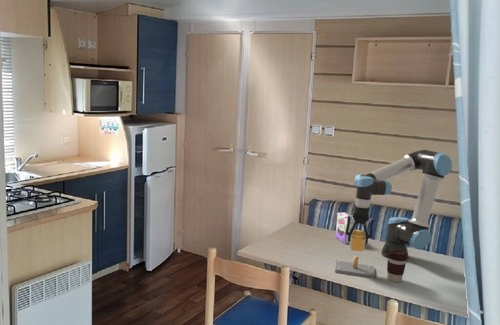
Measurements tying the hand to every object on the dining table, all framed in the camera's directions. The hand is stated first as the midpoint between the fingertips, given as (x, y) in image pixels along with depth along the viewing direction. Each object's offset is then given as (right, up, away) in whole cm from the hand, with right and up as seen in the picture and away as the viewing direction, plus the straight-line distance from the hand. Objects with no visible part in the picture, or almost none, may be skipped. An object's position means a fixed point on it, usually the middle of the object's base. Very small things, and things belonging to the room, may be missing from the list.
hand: (356, 248), depth 256 cm
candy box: (+3, -4, +52) cm, 52 cm away
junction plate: (-1, -12, +2) cm, 12 cm away
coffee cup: (+18, -15, -7) cm, 24 cm away
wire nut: (0, 0, 0) cm, 0 cm away
